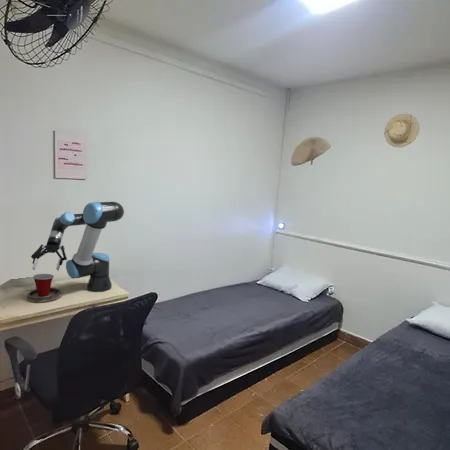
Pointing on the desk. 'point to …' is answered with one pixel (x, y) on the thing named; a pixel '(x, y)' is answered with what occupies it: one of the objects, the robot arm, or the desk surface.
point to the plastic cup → (43, 283)
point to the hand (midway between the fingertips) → (45, 269)
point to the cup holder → (52, 296)
